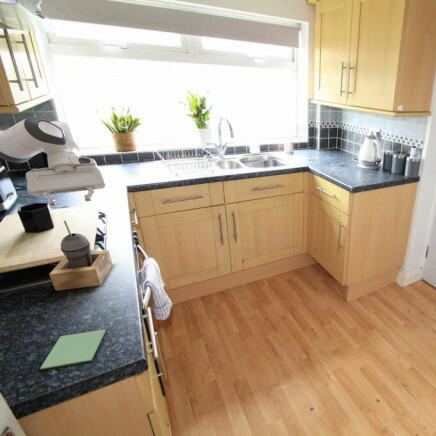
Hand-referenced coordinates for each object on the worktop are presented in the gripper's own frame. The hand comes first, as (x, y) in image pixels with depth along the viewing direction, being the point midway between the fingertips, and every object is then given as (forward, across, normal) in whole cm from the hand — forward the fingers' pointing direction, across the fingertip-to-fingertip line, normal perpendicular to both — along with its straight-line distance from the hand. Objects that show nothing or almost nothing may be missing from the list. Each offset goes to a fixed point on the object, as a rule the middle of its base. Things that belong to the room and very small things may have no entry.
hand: (70, 202), depth 104 cm
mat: (+48, 0, -17) cm, 51 cm away
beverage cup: (+24, 0, +7) cm, 25 cm away
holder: (+24, 0, +7) cm, 25 cm away
